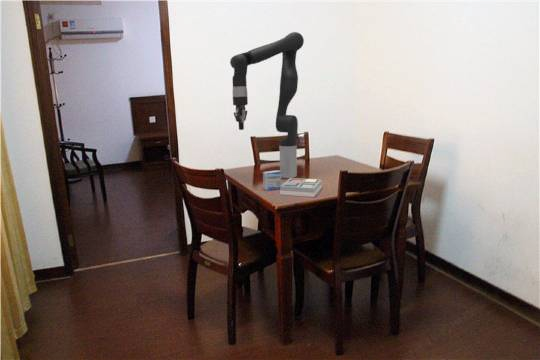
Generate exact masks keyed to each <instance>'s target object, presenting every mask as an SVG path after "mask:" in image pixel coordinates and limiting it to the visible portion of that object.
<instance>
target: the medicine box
mask: <svg viewBox="0 0 540 360" xmlns="http://www.w3.org/2000/svg"><path fill="white" fill-rule="evenodd" d="M262 181H263V184H262V185H263V190H265V191H268V190H269V191H273V190H274V191H275V190H280V186H281V185H282V177H281V171H280V169H279V170H278V169H277V170H276V169H275V170H269V171H263V172H262ZM269 191H268V192H269Z"/></svg>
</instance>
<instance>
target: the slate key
mask: <svg viewBox="0 0 540 360" xmlns="http://www.w3.org/2000/svg"><path fill="white" fill-rule="evenodd" d="M297 185H298V182H287V183H286V184H285V186H294V187H296V186H297Z"/></svg>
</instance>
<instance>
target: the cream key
mask: <svg viewBox="0 0 540 360" xmlns="http://www.w3.org/2000/svg"><path fill="white" fill-rule="evenodd" d="M306 179H307V180H306V181H305V183H317V180H318V179H315V178H314V179H313V178H306Z"/></svg>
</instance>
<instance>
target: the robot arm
mask: <svg viewBox="0 0 540 360" xmlns="http://www.w3.org/2000/svg"><path fill="white" fill-rule="evenodd" d="M304 41H305V40H304V37H303V35H302V34H301V33H299V32H297V31H292V32H290V33H288V34H287V35H285V37H283V38H281V39H279V40H275V41H274V42H271V43H267V44H265V45H261V46H258V47H256V48H253V49H250V50H248V51H246V52H242V53H239V54H235V55H233V56H232V57H231V58H230V61H229V64H230V67H231V68H232V69H233V70H234V71H233V76H232V105H233V106H235V112H233V116H234V119H235V121H236V122H237V123H238V130H240V131H243V130H244V129H245V121H246V120H247V115H248V110H247V109H246V106H247V105H248V104H249V102H248V88H247V73H248V66H250V65H255V64H259V63H261V62H263V61H267V60H269V59H270V58H273V57H275V56H278V55H279V54H282V56H281V57H282V62H281V71H280V81H279V94H278V95H279V96H278V97H279V98H278V105H277V111H276V117H275V118H276V119H275V130H276V131H277V132H279V133H287V136H286V137H284V138H281V139H279V140H278V141H279V142H278V143H279V145H278V146H279V148H278V149H279V171H281V179H282V178H283V179H290V178H297V176H298V164H297V163H298V162H297V161H298V160H297V158H298V157H297V154H298V152H297V151H298V150H297V148H298V147H297V145H298V143H297V142H298V141H297V140H298V130H299V129H298V128H299V122H298V121H299V120H298V117H297V116H296V115H293V114H287V111H288V107H289V105H290V103H291V102H292V100H293V99H294V97H295V95H296V94H297V92H298V82H299V75H298V70H297V65H296V60H297V59H296V58H297V53H298V51H299V50H300V49H302V47H303V46H304V43H305V42H304Z"/></svg>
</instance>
